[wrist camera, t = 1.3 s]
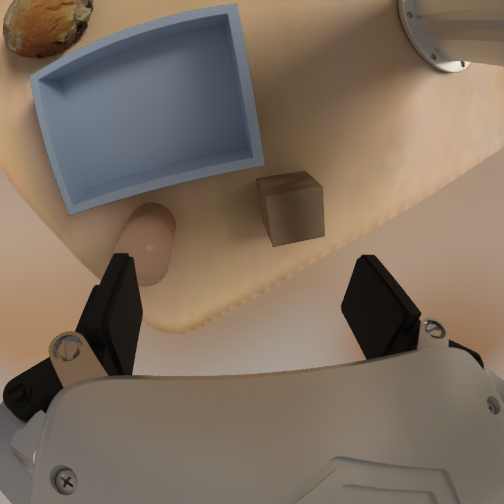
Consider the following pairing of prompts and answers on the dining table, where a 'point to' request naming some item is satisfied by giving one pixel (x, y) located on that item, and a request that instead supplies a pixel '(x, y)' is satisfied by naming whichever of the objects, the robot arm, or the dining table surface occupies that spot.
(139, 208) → the terracotta cylinder
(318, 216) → the walnut cube
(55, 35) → the bread roll
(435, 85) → the dining table surface
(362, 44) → the dining table surface
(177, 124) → the tote
